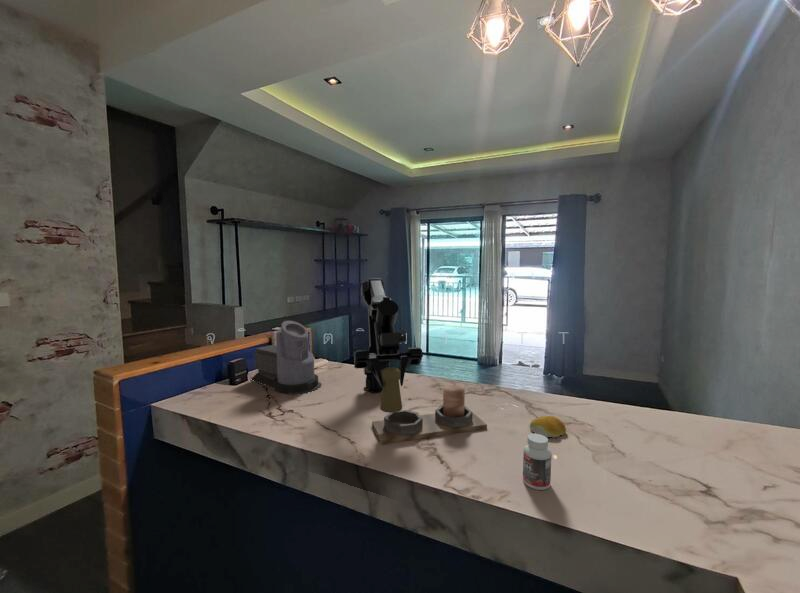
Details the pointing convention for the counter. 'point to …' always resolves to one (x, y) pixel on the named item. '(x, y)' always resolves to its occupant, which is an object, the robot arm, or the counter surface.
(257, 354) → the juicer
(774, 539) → the counter surface
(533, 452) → the pill bottle
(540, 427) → the bread roll
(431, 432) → the rail
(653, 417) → the counter surface
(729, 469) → the counter surface
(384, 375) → the olive green peg
